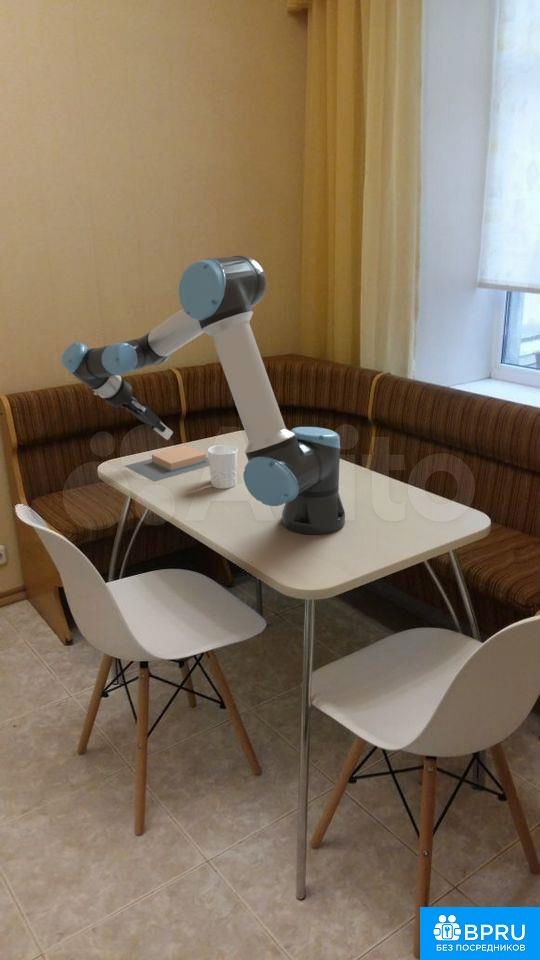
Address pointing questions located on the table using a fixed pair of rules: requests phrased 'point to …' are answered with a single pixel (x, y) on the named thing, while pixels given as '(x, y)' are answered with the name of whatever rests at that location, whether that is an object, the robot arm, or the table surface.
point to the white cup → (223, 466)
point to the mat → (160, 469)
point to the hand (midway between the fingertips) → (169, 435)
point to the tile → (178, 458)
